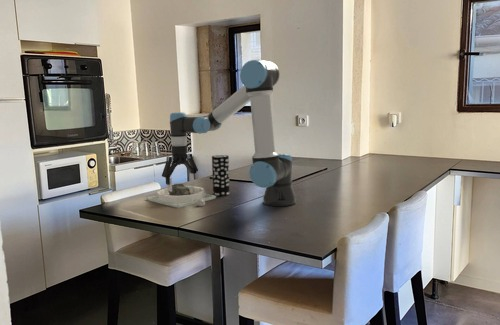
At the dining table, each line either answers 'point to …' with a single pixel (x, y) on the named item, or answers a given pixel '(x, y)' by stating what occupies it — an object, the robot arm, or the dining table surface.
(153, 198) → the tray
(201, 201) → the pebble
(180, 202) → the bowl
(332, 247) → the dining table surface
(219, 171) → the spotted tube
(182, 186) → the stone
